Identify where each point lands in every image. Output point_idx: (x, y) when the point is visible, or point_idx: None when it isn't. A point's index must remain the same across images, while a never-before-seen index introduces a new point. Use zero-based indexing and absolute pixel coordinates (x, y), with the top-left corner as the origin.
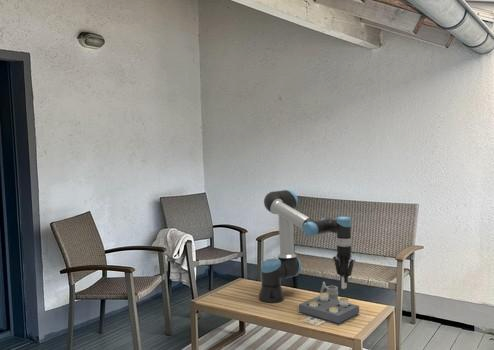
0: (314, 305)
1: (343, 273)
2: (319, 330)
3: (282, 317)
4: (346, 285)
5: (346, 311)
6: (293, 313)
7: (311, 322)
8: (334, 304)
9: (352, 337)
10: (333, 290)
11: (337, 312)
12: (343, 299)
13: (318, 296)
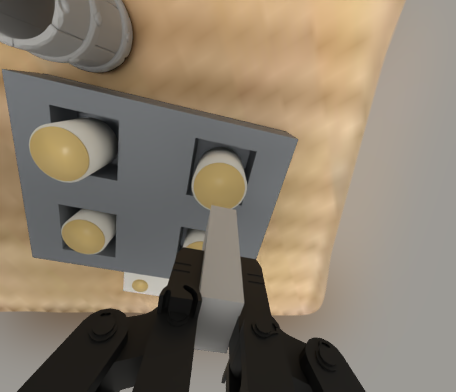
0: (102, 248)
1: (187, 348)
2: None
3: (49, 287)
4: (236, 222)
5: (258, 240)
6: None
7: (158, 291)
8: (170, 183)
9: (305, 314)
10: (62, 41)
11: None
12: (221, 199)
13: (9, 93)
